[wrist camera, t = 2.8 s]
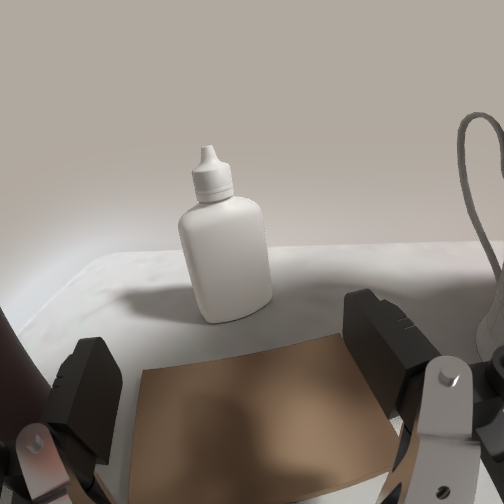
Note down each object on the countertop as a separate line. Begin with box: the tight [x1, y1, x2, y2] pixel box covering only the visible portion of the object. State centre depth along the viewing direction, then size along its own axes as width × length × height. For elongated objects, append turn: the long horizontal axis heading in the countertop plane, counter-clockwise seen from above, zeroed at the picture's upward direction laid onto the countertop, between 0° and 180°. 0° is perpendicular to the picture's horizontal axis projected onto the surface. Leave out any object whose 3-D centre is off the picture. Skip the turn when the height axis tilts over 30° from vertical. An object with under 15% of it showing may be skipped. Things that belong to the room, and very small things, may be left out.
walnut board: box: [128, 333, 399, 504], centre depth 13 cm, size 12×9×1 cm
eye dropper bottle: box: [178, 145, 273, 323], centre depth 20 cm, size 4×6×12 cm
